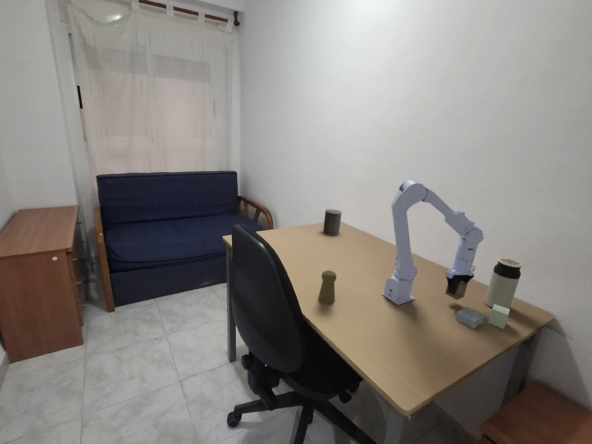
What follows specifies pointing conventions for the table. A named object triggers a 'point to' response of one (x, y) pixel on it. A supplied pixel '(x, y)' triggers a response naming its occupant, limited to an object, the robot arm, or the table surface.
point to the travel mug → (503, 283)
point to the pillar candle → (332, 221)
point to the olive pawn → (327, 287)
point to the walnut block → (458, 291)
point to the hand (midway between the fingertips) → (455, 291)
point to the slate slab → (469, 317)
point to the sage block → (499, 316)
